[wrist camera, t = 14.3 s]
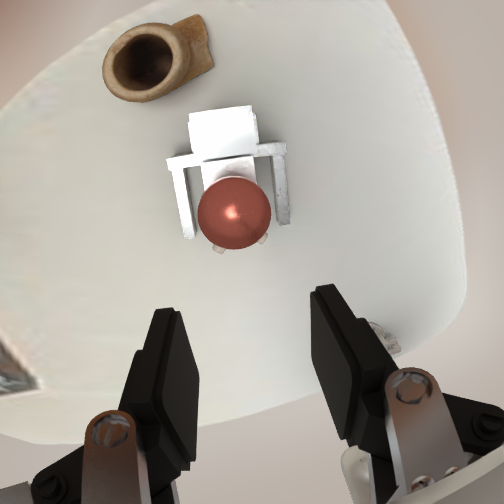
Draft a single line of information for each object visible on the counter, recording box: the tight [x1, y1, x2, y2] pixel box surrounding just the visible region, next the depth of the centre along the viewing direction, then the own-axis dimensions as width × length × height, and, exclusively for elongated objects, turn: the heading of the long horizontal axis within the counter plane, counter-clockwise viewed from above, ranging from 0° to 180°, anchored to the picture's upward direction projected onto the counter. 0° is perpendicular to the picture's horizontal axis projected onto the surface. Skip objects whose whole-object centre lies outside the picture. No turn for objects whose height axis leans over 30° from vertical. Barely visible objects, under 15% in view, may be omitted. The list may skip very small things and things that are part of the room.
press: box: [167, 105, 290, 239], centre depth 36 cm, size 16×17×22 cm
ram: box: [198, 154, 271, 249], centre depth 29 cm, size 6×7×13 cm
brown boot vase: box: [102, 14, 214, 103], centre depth 32 cm, size 15×12×15 cm
